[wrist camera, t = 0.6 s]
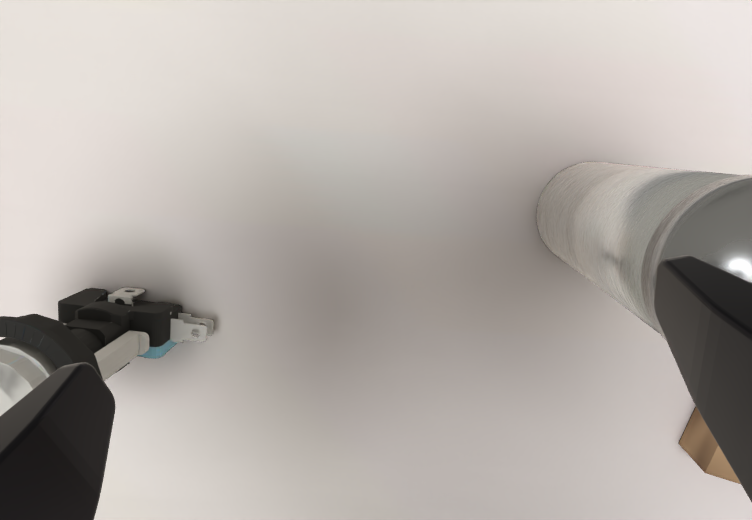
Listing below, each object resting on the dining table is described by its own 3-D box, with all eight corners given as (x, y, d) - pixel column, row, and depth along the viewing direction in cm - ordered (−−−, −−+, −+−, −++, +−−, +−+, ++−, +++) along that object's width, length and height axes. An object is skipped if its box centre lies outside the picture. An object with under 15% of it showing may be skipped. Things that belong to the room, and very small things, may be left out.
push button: (219, 271, 27) (111, 344, 17) (215, 377, 28) (111, 501, 18) (81, 257, 27) (-102, 320, 18) (82, 362, 28) (-90, 477, 19)
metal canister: (619, 278, 26) (819, 407, 13) (520, 247, 26) (626, 346, 13) (660, 179, 25) (917, 214, 12) (557, 146, 25) (710, 149, 12)
